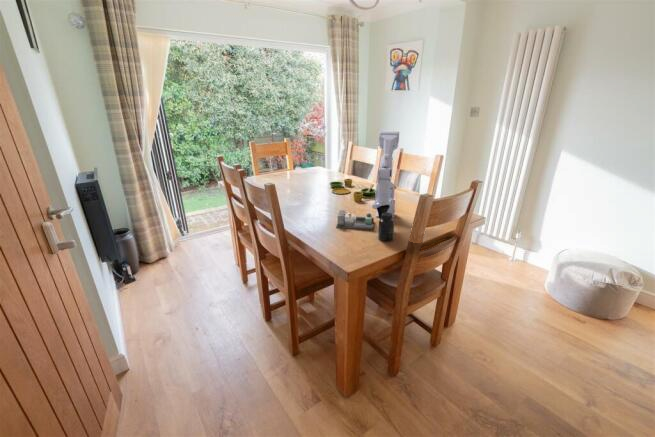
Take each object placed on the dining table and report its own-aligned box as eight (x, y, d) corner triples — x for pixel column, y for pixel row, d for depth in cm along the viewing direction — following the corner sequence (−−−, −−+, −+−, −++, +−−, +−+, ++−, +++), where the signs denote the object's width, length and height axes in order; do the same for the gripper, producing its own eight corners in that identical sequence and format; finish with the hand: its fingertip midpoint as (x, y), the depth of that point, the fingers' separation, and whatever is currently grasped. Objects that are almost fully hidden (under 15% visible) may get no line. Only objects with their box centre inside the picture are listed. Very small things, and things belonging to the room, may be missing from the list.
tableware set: (383, 200, 185) (384, 191, 183) (341, 204, 180) (341, 194, 177) (362, 184, 222) (362, 175, 220) (326, 186, 217) (326, 178, 214)
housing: (354, 221, 151) (354, 212, 149) (353, 224, 147) (353, 215, 145) (345, 220, 152) (345, 211, 150) (344, 224, 148) (344, 214, 146)
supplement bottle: (391, 235, 137) (393, 211, 133) (394, 241, 131) (397, 216, 126) (376, 235, 137) (378, 211, 133) (379, 242, 131) (381, 217, 126)
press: (373, 221, 153) (374, 211, 151) (372, 230, 143) (373, 219, 141) (339, 219, 156) (339, 209, 154) (336, 227, 146) (336, 216, 144)
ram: (371, 221, 151) (372, 211, 149) (371, 226, 144) (371, 216, 142) (365, 220, 151) (366, 211, 149) (364, 226, 145) (365, 216, 143)
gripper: (385, 188, 148) (383, 213, 153) (367, 194, 138) (366, 221, 143) (397, 190, 143) (395, 216, 148) (380, 197, 134) (378, 224, 139)
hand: (381, 219), depth 146 cm, fingers closed
